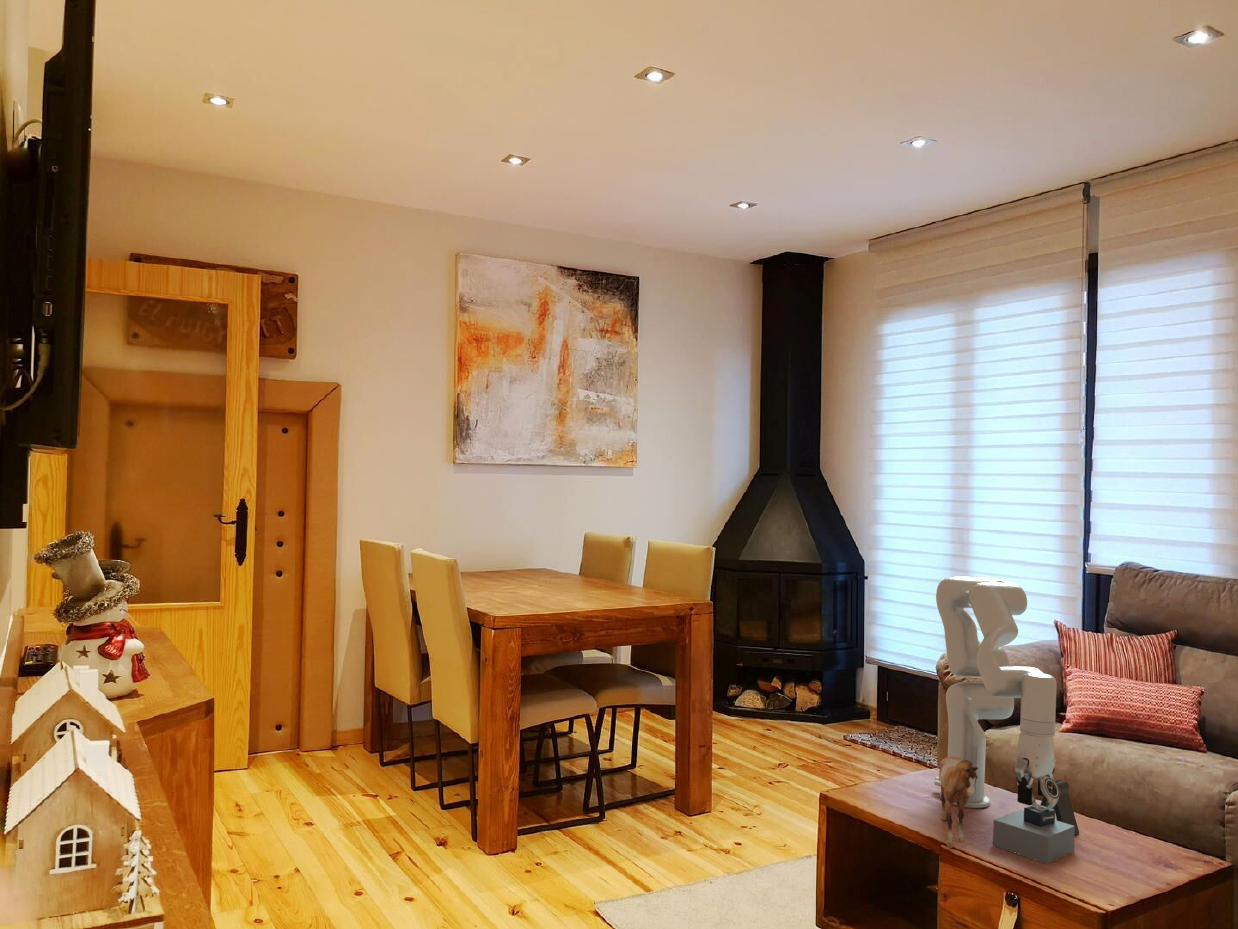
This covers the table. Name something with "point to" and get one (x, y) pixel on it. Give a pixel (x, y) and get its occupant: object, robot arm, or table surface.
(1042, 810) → the watch
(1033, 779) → the robot arm
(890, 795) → the table surface
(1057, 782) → the phone stand
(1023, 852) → the base block
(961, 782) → the horse figurine
